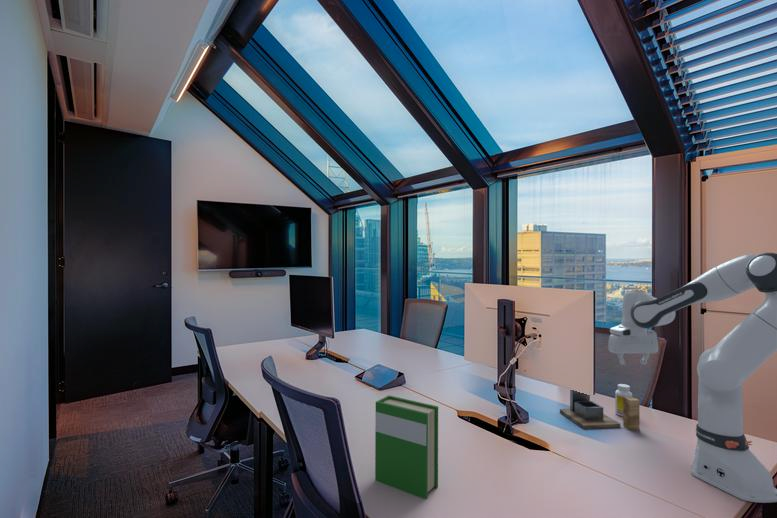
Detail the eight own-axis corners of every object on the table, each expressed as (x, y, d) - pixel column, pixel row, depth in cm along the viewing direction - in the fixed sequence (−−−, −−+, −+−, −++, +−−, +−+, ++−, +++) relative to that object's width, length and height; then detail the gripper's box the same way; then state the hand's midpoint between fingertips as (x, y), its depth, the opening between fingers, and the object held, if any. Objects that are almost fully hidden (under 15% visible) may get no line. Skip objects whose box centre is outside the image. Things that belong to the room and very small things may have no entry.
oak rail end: (639, 430, 161) (639, 400, 161) (630, 430, 161) (630, 400, 161) (632, 426, 165) (632, 396, 165) (623, 426, 165) (623, 397, 165)
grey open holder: (603, 419, 168) (603, 385, 168) (585, 420, 167) (585, 386, 167) (587, 409, 180) (587, 378, 180) (570, 410, 179) (570, 378, 179)
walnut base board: (620, 427, 163) (620, 423, 163) (583, 429, 162) (583, 425, 162) (593, 411, 181) (593, 407, 181) (559, 412, 180) (559, 409, 180)
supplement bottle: (635, 418, 174) (635, 388, 174) (618, 416, 175) (618, 387, 175) (629, 412, 180) (629, 383, 180) (613, 411, 181) (612, 382, 182)
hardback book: (437, 487, 119) (438, 406, 120) (426, 499, 113) (426, 414, 113) (388, 470, 129) (388, 395, 129) (375, 480, 123) (375, 401, 123)
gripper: (650, 328, 168) (649, 361, 168) (606, 328, 164) (605, 362, 164) (662, 331, 161) (662, 365, 161) (617, 331, 158) (616, 366, 158)
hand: (633, 364), depth 163 cm, fingers open, 8 cm apart
